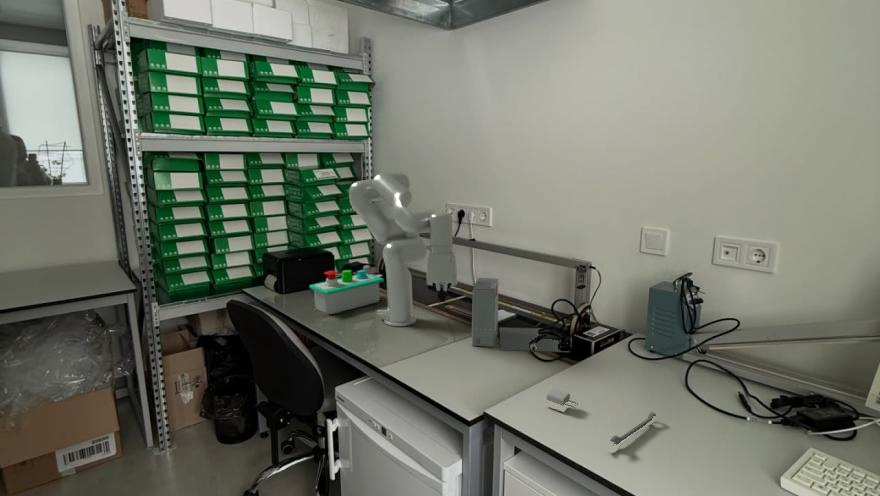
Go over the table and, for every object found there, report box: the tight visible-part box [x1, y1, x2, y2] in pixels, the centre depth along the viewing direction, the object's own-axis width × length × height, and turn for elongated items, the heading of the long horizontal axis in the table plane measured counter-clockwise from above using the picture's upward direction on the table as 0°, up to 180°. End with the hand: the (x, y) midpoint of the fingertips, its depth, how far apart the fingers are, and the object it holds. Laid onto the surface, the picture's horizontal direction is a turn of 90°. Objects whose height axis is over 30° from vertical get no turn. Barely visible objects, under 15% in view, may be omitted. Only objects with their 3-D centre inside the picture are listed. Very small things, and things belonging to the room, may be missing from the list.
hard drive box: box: [471, 277, 500, 348], centre depth 161 cm, size 16×8×20 cm, turn 168°
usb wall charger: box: [546, 388, 579, 409], centre depth 116 cm, size 4×7×4 cm, turn 51°
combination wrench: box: [610, 412, 657, 445], centre depth 104 cm, size 4×1×20 cm
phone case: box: [498, 309, 518, 325], centre depth 181 cm, size 9×2×16 cm
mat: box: [498, 326, 570, 353], centre depth 161 cm, size 22×20×1 cm
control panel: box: [309, 269, 385, 315], centre depth 200 cm, size 15×16×30 cm
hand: (442, 301), depth 162 cm, fingers closed
